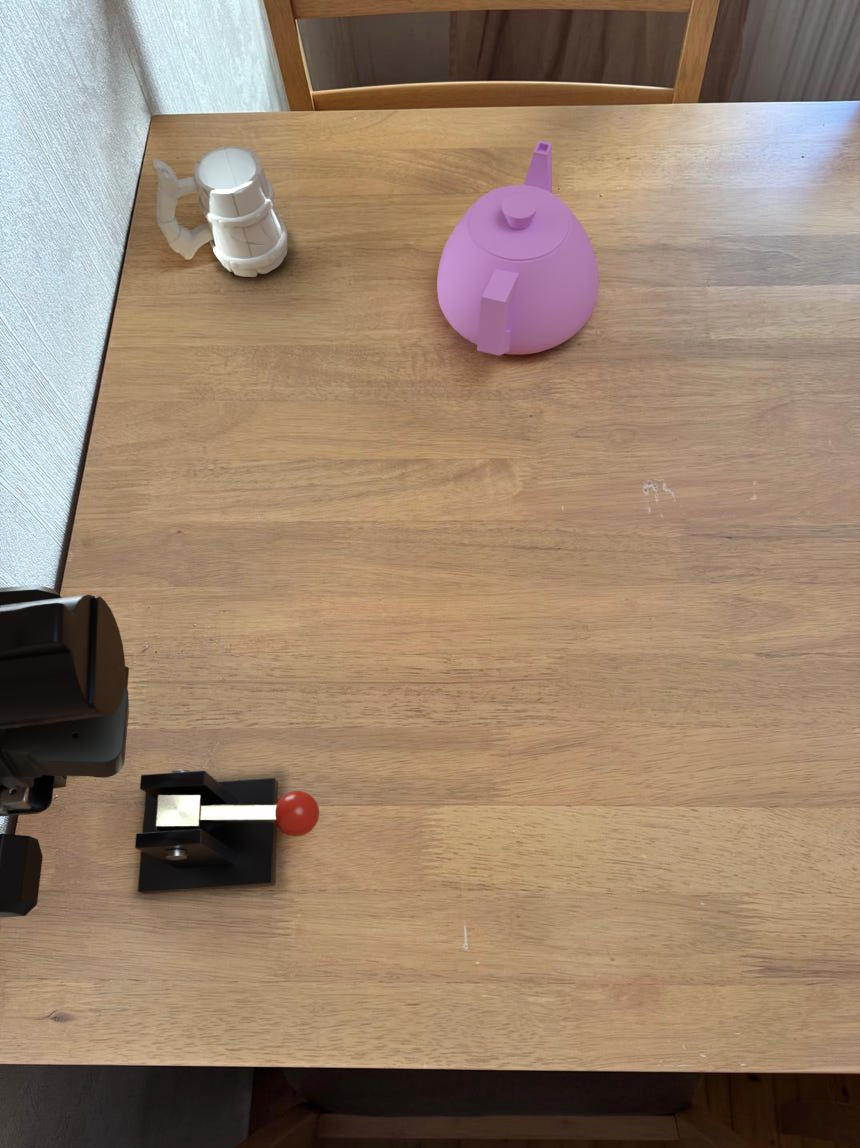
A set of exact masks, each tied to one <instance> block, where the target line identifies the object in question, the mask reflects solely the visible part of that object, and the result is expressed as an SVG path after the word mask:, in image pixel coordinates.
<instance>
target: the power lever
mask: <svg viewBox="0 0 860 1148" xmlns="http://www.w3.org/2000/svg"><path fill="white" fill-rule="evenodd" d="M319 818H320V807H319V805H318V802H317V801H316V799H315V798H314V797H313V796H312V795H311V794H310V793H308V792H305V791H302V790H292V791H289V792H287V793H285V794H284V795H282V796H281V797H280V798H279V799H277V804H276V805H201V795H158V800H157V813H156V830H157V832H163V831H178V830H193V829H200V823H275V824H276V826H277V829H278V830H279V832H281V833H283V834H284V835H285V836H288V837H302V836H305V835H307V834H309V833H310V832H312V830H313V829H314V828H315V827H316V826H317V824H318V822H319Z"/></svg>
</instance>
